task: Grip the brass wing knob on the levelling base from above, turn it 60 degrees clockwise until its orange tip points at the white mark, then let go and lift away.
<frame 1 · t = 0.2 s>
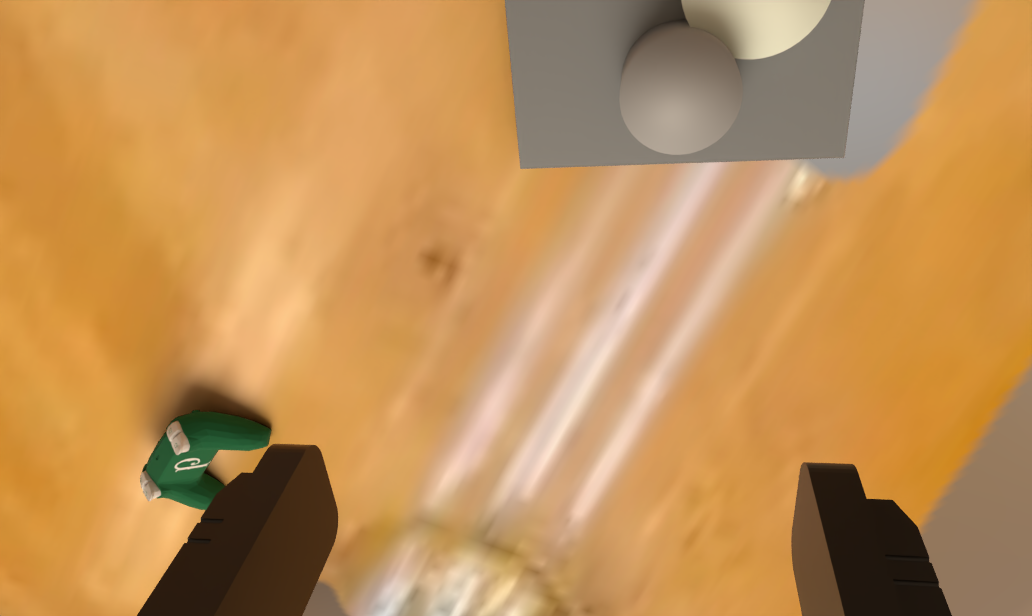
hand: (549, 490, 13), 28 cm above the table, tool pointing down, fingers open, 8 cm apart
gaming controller: (216, 441, 54), on the table
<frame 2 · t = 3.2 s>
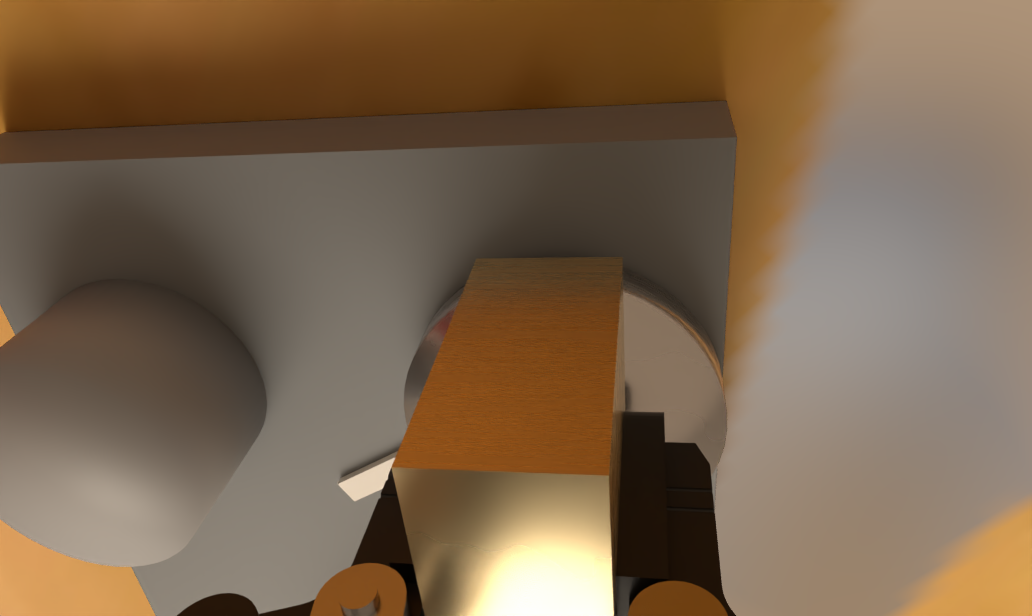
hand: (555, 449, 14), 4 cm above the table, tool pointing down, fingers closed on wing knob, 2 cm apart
wing knob: (548, 506, 13), point 5 cm above the table, hinge at 0.0°, touching gripper
levelling base: (413, 489, 20), on the table
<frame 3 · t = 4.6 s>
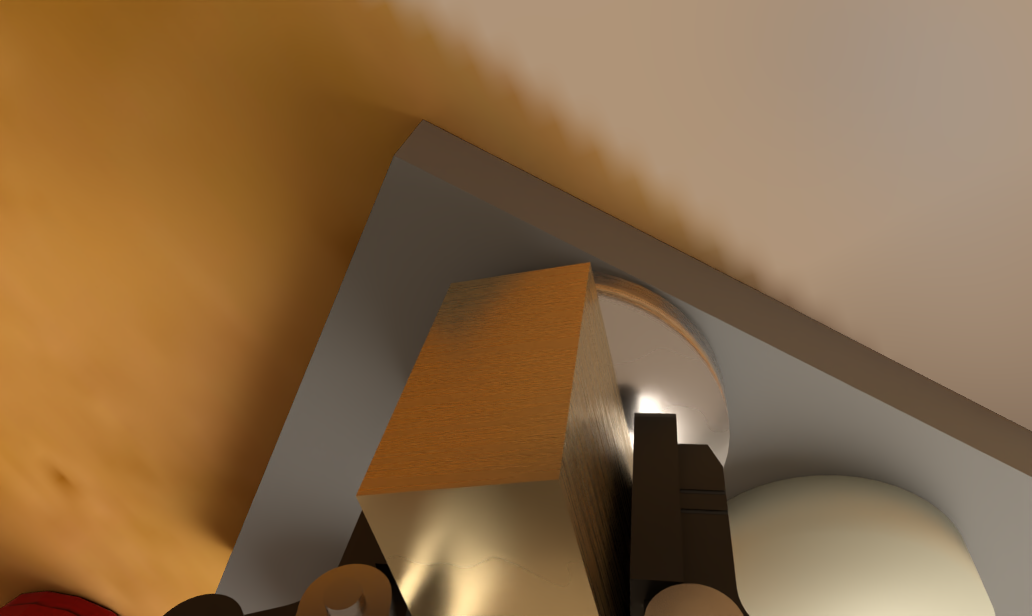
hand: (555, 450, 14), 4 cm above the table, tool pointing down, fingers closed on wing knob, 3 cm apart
wing knob: (553, 517, 13), point 5 cm above the table, hinge at -50.3°, touching gripper
levelling base: (666, 547, 20), on the table
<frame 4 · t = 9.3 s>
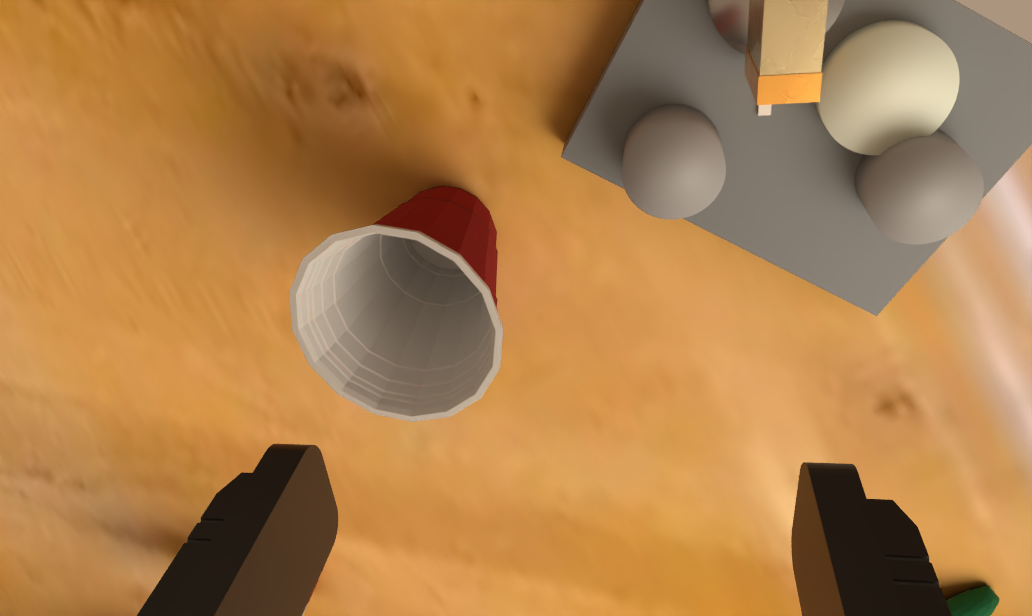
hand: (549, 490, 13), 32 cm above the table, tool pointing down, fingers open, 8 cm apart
wing knob: (784, 0, 33), point 5 cm above the table, hinge at -59.4°
plastic cup: (447, 225, 47), on the table
levelling base: (800, 108, 40), on the table
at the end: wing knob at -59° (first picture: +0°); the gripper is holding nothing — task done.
